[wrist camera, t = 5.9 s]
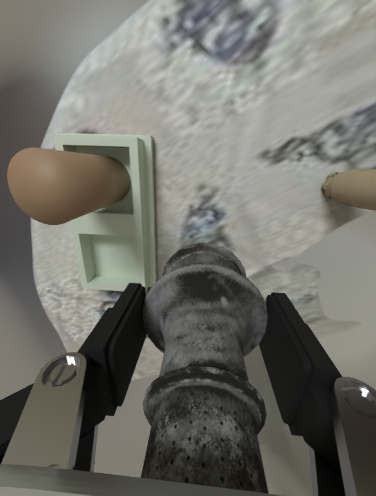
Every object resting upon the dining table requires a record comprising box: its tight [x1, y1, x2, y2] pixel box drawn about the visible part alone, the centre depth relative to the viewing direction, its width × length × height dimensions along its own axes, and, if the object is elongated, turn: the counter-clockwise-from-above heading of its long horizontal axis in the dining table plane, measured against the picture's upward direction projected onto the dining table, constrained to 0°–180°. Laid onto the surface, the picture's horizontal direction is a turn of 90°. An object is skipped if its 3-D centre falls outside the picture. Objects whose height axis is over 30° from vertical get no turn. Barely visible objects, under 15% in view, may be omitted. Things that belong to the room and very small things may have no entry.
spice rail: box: [7, 133, 157, 292], centre depth 24 cm, size 22×12×13 cm, turn 178°
